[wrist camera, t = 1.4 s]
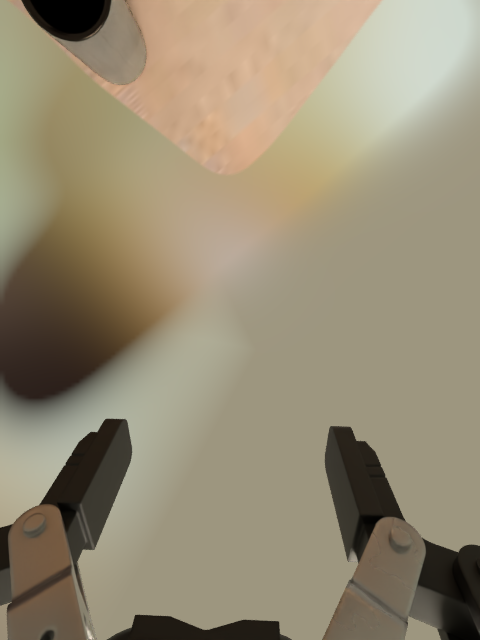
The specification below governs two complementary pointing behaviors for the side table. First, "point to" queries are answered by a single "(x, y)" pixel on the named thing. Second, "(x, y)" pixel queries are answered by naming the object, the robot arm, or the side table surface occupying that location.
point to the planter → (95, 34)
